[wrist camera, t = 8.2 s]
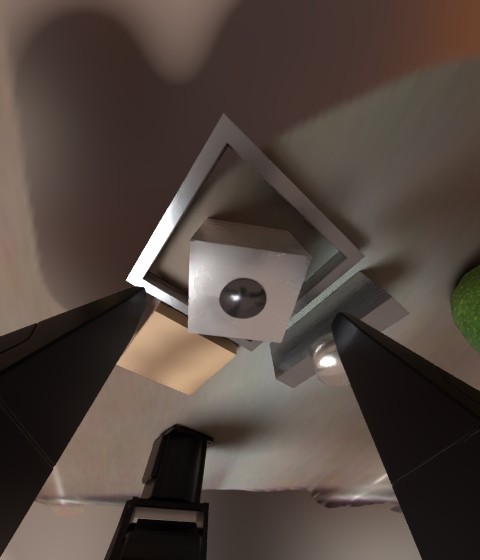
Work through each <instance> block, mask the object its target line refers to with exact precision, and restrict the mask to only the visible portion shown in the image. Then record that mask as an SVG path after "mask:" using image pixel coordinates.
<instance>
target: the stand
mask: <svg viewBox="0 0 480 560" xmlns="http://www.w3.org/2000/svg"><path fill="white" fill-rule="evenodd" d="M235 355H236V344H235V343H233V342H231V341H229V340H227V339H226V338H224V337H222V336H213V335H204V334H195V333H188V317H187V316H185V315H183V314H181V313H180V312H178V311H176V310H174V309H172V308H171V307H169V306H167V305H165V304H164V303H162V302H160V303H159V305H158V306H157V307H156V309H155V310H154V312H153V313H152V314H151V316H150V317H149V318H148V320H147V321H146V323H145V324H144V325H143V327H142V328H141V330H140V331H139V332H138V334H137V335H136V336H135V338H134V339H133V340H132V342H131V343H130V345H129V346H128V347H127V349H126V350H125V351H124V353H123V354H122V356H121V357H120V359H119V360H118V362H117V364H116V365H119V366H121V367H124V368H126V369H128V370H131V371H133V372H135V373H138V374H140V375H143V376H145V377H147V378H150V379H152V380H154V381H157V382H159V383H162V384H164V385H166V386H169V387H171V388H174V389H176V390H178V391H181V392H183V393H185V394H188V395H191V394H192V393H193V392H194V391H195V390H196V389H197V388H199V387H200V386H201V385H202V384H203V383H204V382H206V381H207V380H208V379H209V378H210V377H211V376H212V375H214V374H215V373H216V372H217V371H218V370H219V369H220V368H222V367H223V366H224V365H225V364H226V363H227V362H229V361H230V360H231V359H232V358H233V357H234V356H235Z"/></svg>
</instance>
